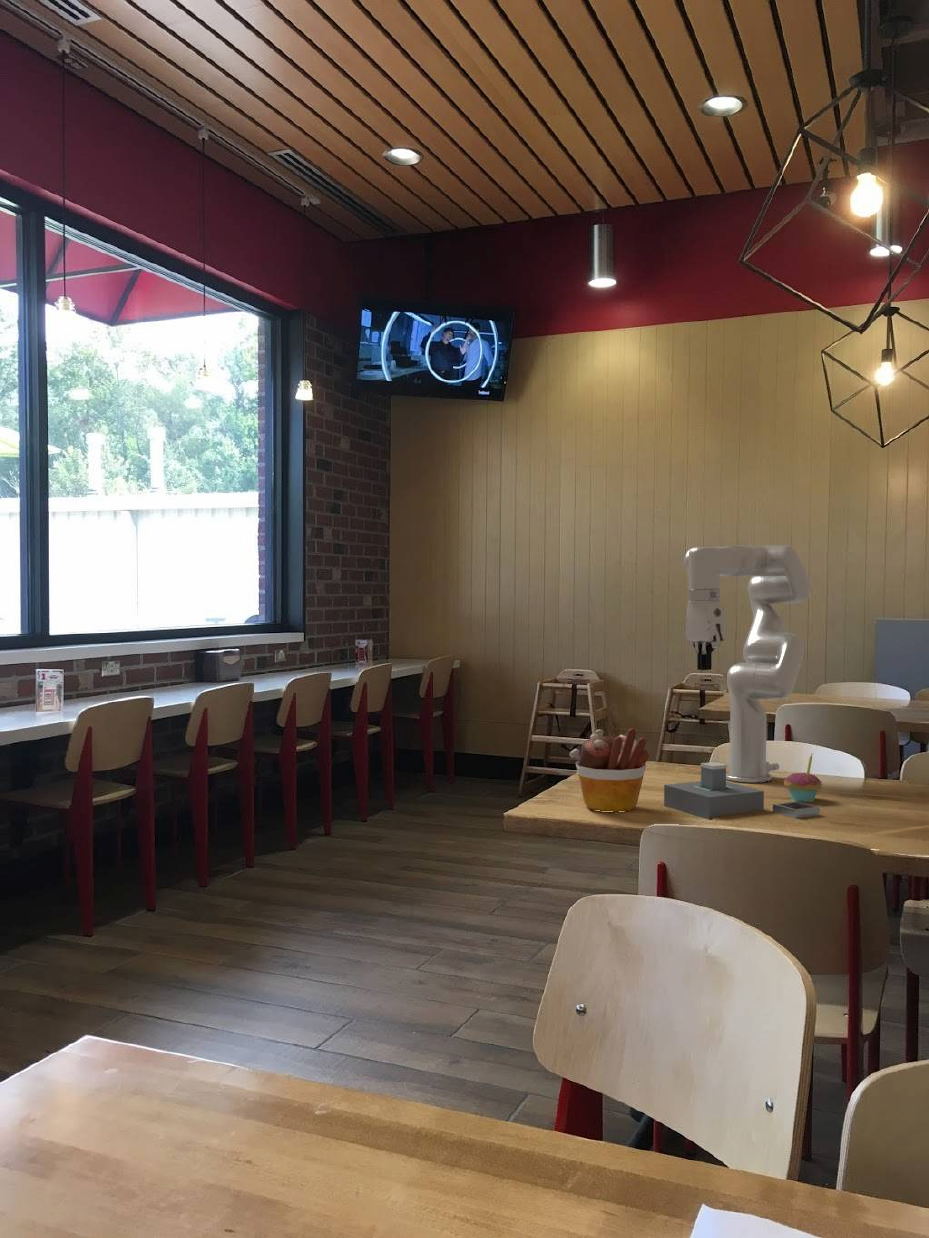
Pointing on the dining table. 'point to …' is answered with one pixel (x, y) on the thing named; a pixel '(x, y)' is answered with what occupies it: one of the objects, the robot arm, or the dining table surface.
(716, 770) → the plug
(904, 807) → the dining table surface
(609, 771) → the bucket of meat
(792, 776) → the cupcake
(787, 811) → the box
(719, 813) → the port block
